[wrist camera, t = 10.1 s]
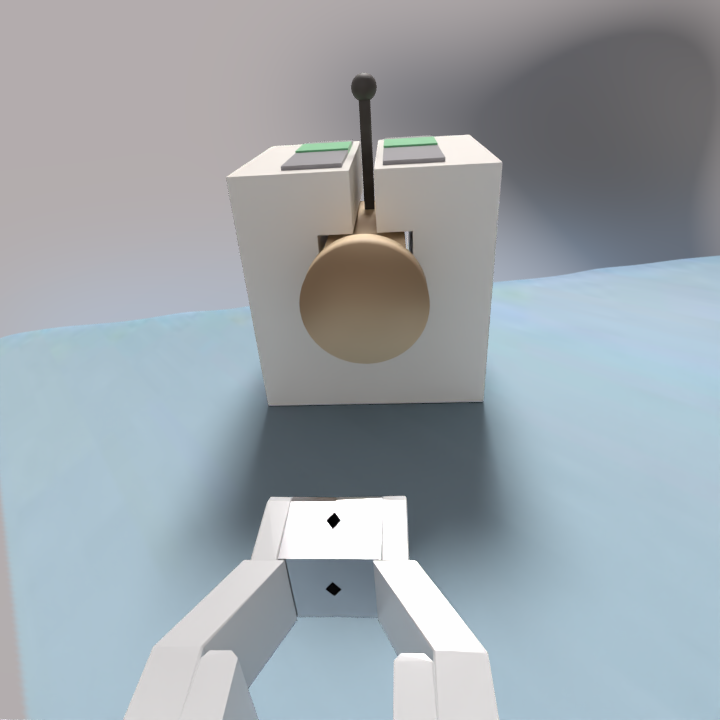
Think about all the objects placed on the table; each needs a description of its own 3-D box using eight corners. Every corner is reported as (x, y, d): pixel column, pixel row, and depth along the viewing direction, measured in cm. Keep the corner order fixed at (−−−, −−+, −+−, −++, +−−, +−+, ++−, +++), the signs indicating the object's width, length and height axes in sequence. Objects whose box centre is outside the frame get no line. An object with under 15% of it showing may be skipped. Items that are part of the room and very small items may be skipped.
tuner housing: (483, 401, 30) (503, 155, 23) (268, 405, 30) (224, 170, 24) (460, 320, 39) (469, 129, 32) (297, 325, 40) (271, 141, 33)
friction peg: (429, 362, 24) (432, 69, 18) (307, 365, 25) (269, 80, 18) (416, 271, 35) (416, 69, 29) (332, 274, 35) (313, 76, 29)
